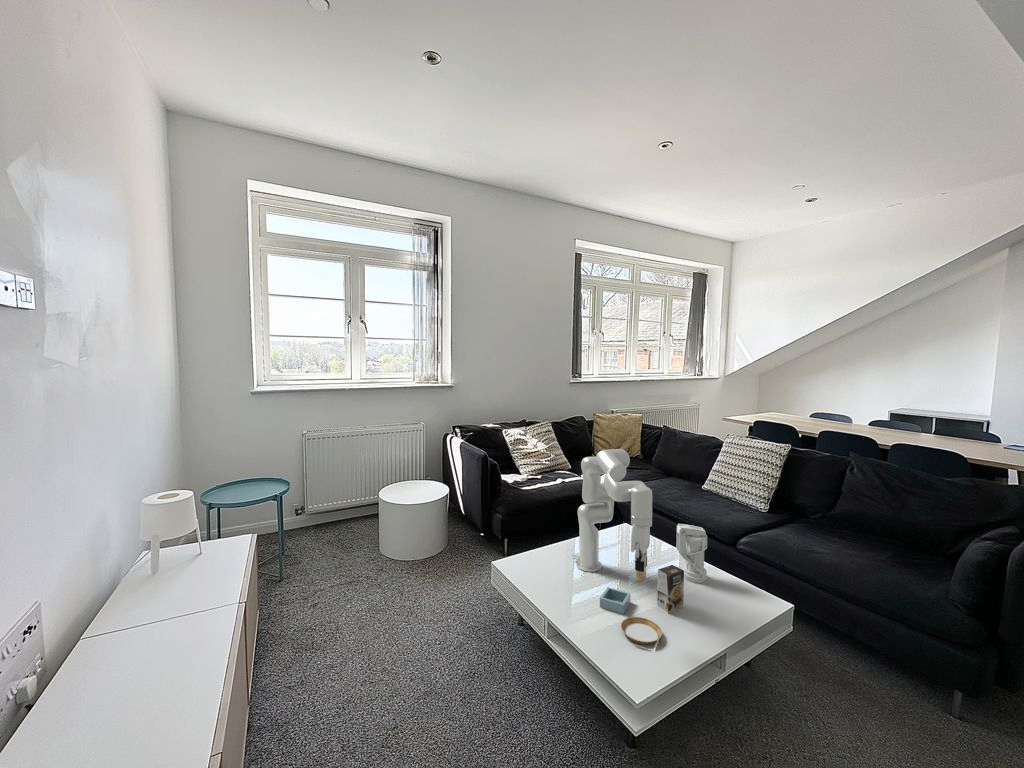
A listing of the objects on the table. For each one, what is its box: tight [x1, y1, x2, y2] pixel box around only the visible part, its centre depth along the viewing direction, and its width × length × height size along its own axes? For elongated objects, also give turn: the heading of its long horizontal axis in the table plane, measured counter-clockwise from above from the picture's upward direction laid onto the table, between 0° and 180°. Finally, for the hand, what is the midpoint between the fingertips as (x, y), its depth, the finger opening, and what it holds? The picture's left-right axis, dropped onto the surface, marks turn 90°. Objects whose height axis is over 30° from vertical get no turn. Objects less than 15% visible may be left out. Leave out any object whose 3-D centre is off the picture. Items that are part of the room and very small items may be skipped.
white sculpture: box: [676, 523, 708, 584], centre depth 197 cm, size 13×10×25 cm
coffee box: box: [656, 564, 685, 614], centre depth 174 cm, size 9×6×16 cm
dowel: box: [635, 551, 647, 585], centre depth 156 cm, size 4×4×12 cm
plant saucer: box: [620, 616, 663, 645], centre depth 157 cm, size 15×15×3 cm
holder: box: [599, 586, 632, 615], centre depth 175 cm, size 10×10×4 cm
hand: (641, 567), depth 156 cm, fingers closed on dowel, 3 cm apart
